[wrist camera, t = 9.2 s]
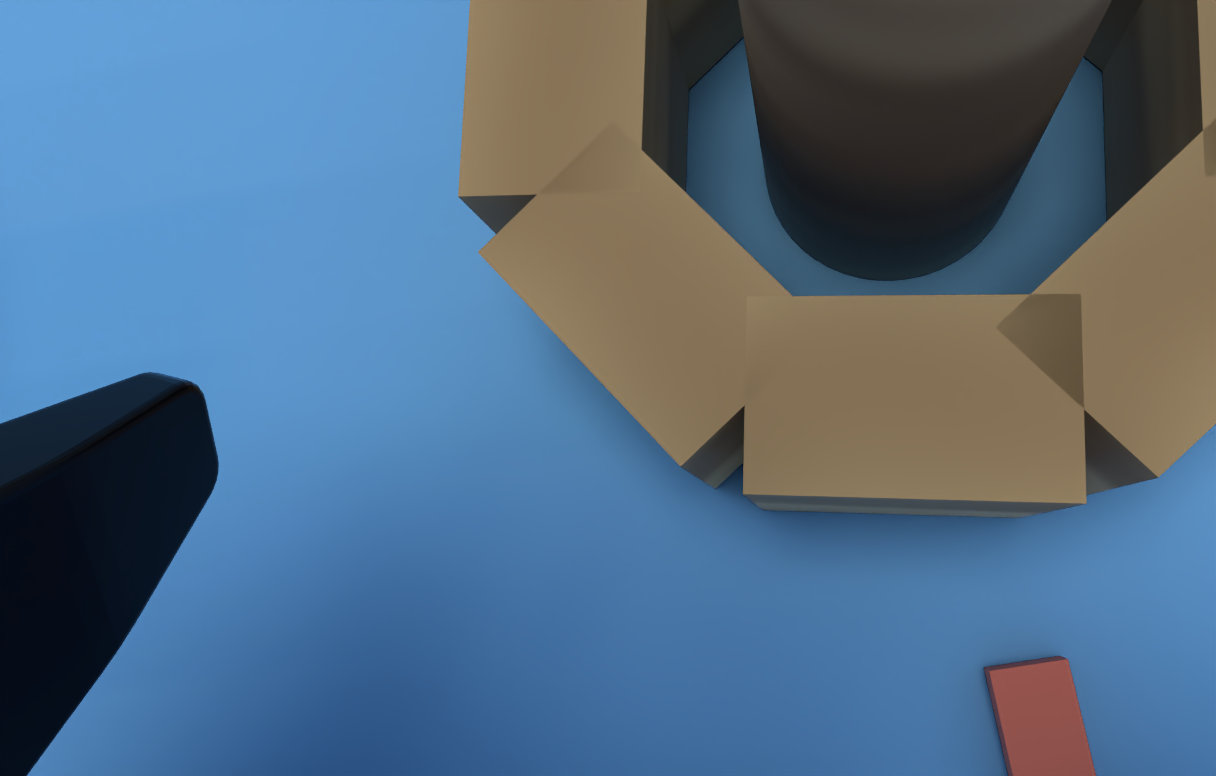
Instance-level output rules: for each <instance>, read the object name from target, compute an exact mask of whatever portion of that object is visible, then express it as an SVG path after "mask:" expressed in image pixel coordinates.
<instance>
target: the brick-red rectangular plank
mask: <svg viewBox="0 0 1216 776" xmlns="http://www.w3.org/2000/svg"><path fill="white" fill-rule="evenodd" d="M984 670H985V674H986V679H987V683H988V688H989V692H990V697H991V701H992V705H993V710H994V714H995V719H996V723H997V727H998V732H999V736H1000V741H1001V745H1002V750H1003V754H1004V758H1005V763H1006V767H1007V772H1008V776H1096V773H1095V769H1094V765H1093V761H1092V757H1091V753H1090V749H1089V744H1088V740H1087V736H1086V732H1085V728H1084V724H1083V719H1082V715H1081V711H1080V707H1079V703H1078V699H1077V695H1076V690H1075V686H1074V682H1073V678H1072V674H1071V670H1070V666H1069V661H1068V659H1067V658H1064V657H1062V656H1055V657H1049V658H1042V659H1036V660H1029V661H1023V662H1016V663H1009V664H1003V665H996V666H990V667H984Z"/></svg>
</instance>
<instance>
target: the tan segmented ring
mask: <svg viewBox="0 0 1216 776" xmlns="http://www.w3.org/2000/svg"><path fill="white" fill-rule="evenodd" d="M743 37H744V35H743V29H742V22H741V16H740V9H739V3H738V0H470V11H469V28H468V44H467V61H466V77H465V94H464V110H463V127H462V144H461V160H460V177H459V193H458V197H459V198H460V199H461V200H462V201H463V202H464V203H465V204H466V205H467V206H468V207H469V208H470V209H471V210H472V211H473V212H474V213H475V214H476V215H477V216H478V217H479V218H480V219H481V220H483V221H484V222H485V223H486V224H487V225H488V226H489V227H490V228H491V229H492V230H493V231H494V232H495V233H496V235H495V236H494V237H493V238H492V239H491V240H490V241H489V242H488V243H487V244H486V245H485V246H484V247H483V248H482V249H481V250H480V251H479V252H478V253H479V254H480V255H481V256H482V257H483V258H484V259H485V260H486V261H487V262H488V263H489V264H490V266H491V267H492V268H493V269H494V270H495V271H496V272H497V273H498V274H499V275H500V276H501V277H502V278H503V279H504V280H505V281H506V282H507V284H508V285H509V286H510V287H511V288H512V289H513V290H514V291H515V292H516V293H517V294H518V295H519V296H520V297H521V298H522V299H523V300H524V302H525V303H526V304H527V305H528V306H529V307H530V308H531V309H532V310H533V311H534V312H535V313H536V314H537V315H538V316H539V317H540V318H541V319H542V321H543V322H544V323H545V324H546V325H547V326H548V327H549V328H550V329H551V330H552V331H553V332H554V333H555V334H556V335H557V336H558V337H559V339H560V340H561V341H562V342H563V343H564V344H565V345H566V346H567V347H568V348H569V349H570V350H571V351H572V352H573V353H574V354H575V355H576V357H577V358H578V359H579V360H580V361H581V362H582V363H583V364H584V365H585V366H586V367H587V368H588V369H589V370H590V371H591V372H592V373H593V375H594V376H595V377H596V378H597V379H598V380H599V381H600V382H601V383H602V384H603V385H604V386H605V387H606V388H607V389H608V390H609V391H610V393H611V394H612V395H613V396H614V397H615V398H616V399H617V400H618V401H619V402H620V403H621V404H622V405H623V406H624V407H625V408H626V409H627V410H628V412H629V413H630V414H631V415H632V416H633V417H634V418H635V419H636V420H637V421H638V422H639V423H640V424H641V425H642V426H643V427H644V428H645V430H646V431H647V432H648V433H649V434H650V435H651V436H652V437H653V438H654V439H655V440H656V441H657V442H658V443H659V444H660V445H661V446H662V448H663V449H664V450H665V451H666V452H667V453H668V454H669V455H670V456H671V457H672V458H673V459H674V460H675V461H676V462H677V463H678V464H679V466H680V467H682V468H683V469H685V470H687V471H688V472H690V473H691V474H693V475H694V476H696V477H697V478H699V479H701V480H702V481H704V482H705V483H707V484H708V485H710V486H711V487H713V488H714V489H716V488H717V487H718V486H719V485H720V484H721V483H722V482H723V481H725V480H726V479H727V478H728V477H729V476H730V475H731V474H732V473H733V472H734V471H735V470H736V469H737V468H738V467H739V466H740V465H741V464H742V463H743V462H744V465H743V495H745V496H746V497H747V498H748V499H750V500H751V501H752V502H753V503H755V504H756V505H757V506H758V507H760V508H761V509H762V510H772V511H805V512H838V513H871V514H905V515H938V516H971V517H1004V518H1021V517H1026V516H1031V515H1035V514H1040V513H1045V512H1049V511H1054V510H1059V509H1064V508H1068V507H1073V506H1078V505H1082V504H1087V503H1086V495H1089V494H1093V493H1097V492H1101V491H1105V490H1109V489H1113V488H1117V487H1121V486H1125V485H1130V484H1134V483H1138V482H1142V481H1146V480H1150V479H1154V478H1158V477H1159V476H1160V475H1161V474H1163V473H1164V472H1165V471H1166V470H1167V469H1168V468H1169V467H1170V466H1171V465H1172V464H1173V463H1174V462H1175V461H1176V460H1177V459H1179V458H1180V457H1181V456H1182V455H1183V454H1184V453H1185V452H1186V451H1187V450H1188V449H1189V448H1190V447H1191V446H1192V445H1194V444H1195V443H1196V442H1197V441H1198V440H1199V439H1200V438H1201V437H1202V436H1203V435H1204V434H1205V433H1206V432H1207V431H1208V430H1210V429H1211V428H1212V427H1213V426H1214V425H1215V424H1216V0H1112V1H1111V3H1110V5H1109V7H1108V9H1107V11H1106V13H1105V15H1104V17H1103V19H1102V21H1101V23H1100V24H1099V26H1098V28H1097V30H1096V32H1095V34H1094V36H1093V38H1092V40H1091V42H1090V44H1089V46H1088V48H1087V50H1086V52H1085V54H1084V56H1085V57H1086V58H1087V59H1088V60H1089V61H1091V62H1092V63H1093V64H1094V65H1096V66H1097V67H1098V68H1099V69H1100V70H1102V71H1103V100H1104V133H1105V166H1106V199H1107V222H1106V223H1105V224H1104V225H1103V226H1102V227H1101V228H1100V229H1099V230H1098V231H1097V232H1095V233H1094V234H1093V235H1092V236H1091V237H1090V238H1089V239H1088V240H1087V241H1086V242H1085V243H1084V244H1083V245H1082V246H1081V247H1080V248H1079V249H1078V250H1076V251H1075V252H1074V253H1073V254H1072V255H1071V256H1070V257H1069V258H1068V259H1067V260H1066V261H1065V262H1064V263H1063V264H1062V265H1061V266H1060V267H1059V268H1058V269H1056V270H1055V271H1054V272H1053V273H1052V274H1051V275H1050V276H1049V277H1048V278H1047V279H1046V280H1045V281H1044V282H1043V283H1042V284H1041V285H1040V286H1039V287H1037V288H1036V289H1035V290H1034V291H1033V292H1032V293H1031V294H1005V295H874V296H792V295H791V294H790V293H789V292H788V291H787V290H786V289H785V288H784V287H783V286H782V285H781V284H780V283H779V282H778V281H777V280H776V279H775V278H774V277H773V276H771V275H770V274H769V273H768V272H767V271H766V270H765V269H764V268H763V267H762V266H761V265H760V264H759V263H758V262H757V261H756V260H755V259H754V258H753V257H752V256H751V255H750V254H749V253H748V252H747V251H746V250H745V249H744V248H743V247H742V246H740V245H739V244H738V243H737V242H736V241H735V240H734V239H733V238H732V237H731V236H730V235H729V234H728V233H727V232H726V231H725V230H724V229H723V228H722V227H721V226H720V225H719V224H718V223H717V222H716V221H715V220H714V219H713V218H712V217H711V216H709V215H708V214H707V213H706V212H705V211H704V210H703V209H702V208H701V207H700V206H699V205H698V204H697V203H696V202H695V201H694V200H693V199H692V198H691V197H690V196H689V195H688V194H687V193H686V167H687V132H688V97H689V89H690V88H691V87H692V86H693V85H694V84H695V83H696V82H697V81H698V80H699V79H700V78H701V77H702V76H703V75H705V74H706V73H707V72H708V71H709V70H710V69H711V68H712V67H713V66H714V65H715V64H716V63H717V62H718V61H719V60H720V59H721V58H722V57H723V56H724V55H725V54H726V53H727V52H728V51H729V50H730V49H731V48H732V47H733V46H734V45H735V44H736V43H737V42H738V41H740V40H741V39H742V38H743Z"/></svg>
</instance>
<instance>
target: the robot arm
mask: <svg viewBox="0 0 1216 776" xmlns="http://www.w3.org/2000/svg"><path fill="white" fill-rule="evenodd" d="M218 466H219V462H218V455H217V451H216V446H215V442H214V437H213V432H212V428H211V423H210V419H209V414H208V409H207V405H206V400H205V397H204V394H203V392H202V391H201V390H200V388H199V387H198V386H197V385H196V384H194V383H192V382H191V381H187V380H184V379H180V378H176V377H172V376H168V375H164V374H160V373H152V372H148V373H142V374H139V375H136V376H133V377H130V378H128V379H125V380H122V381H119V382H116V383H114V384H111V385H108V386H105V387H102V388H99V389H97V390H94V391H91V392H88V393H85V394H83V395H80V396H77V397H74V398H71V399H69V400H66V401H63V402H60V403H57V404H54V405H52V406H49V407H46V408H43V409H40V410H38V411H35V412H32V413H29V414H26V415H24V416H21V417H18V418H15V419H12V420H9V421H7V422H4V423H1V424H0V776H27V775H28V773H29V772H30V771H31V769H32V768H33V766H34V765H35V764H36V762H37V761H38V760H39V758H40V757H41V756H42V754H43V753H44V751H45V750H46V749H47V747H48V746H49V745H50V743H51V742H52V741H53V739H54V738H55V736H56V735H57V734H58V732H59V731H60V730H61V728H62V727H63V726H64V724H65V723H66V721H67V720H68V719H69V717H70V716H71V715H72V713H73V712H74V711H75V709H76V708H77V707H78V705H79V704H80V702H81V701H82V700H83V698H84V697H85V696H86V694H87V693H88V692H89V690H90V689H91V687H92V686H93V685H94V683H95V682H96V681H97V679H98V678H99V677H100V675H101V674H102V672H103V671H104V670H105V668H106V667H107V665H108V664H109V662H110V661H111V659H112V658H113V657H114V655H115V654H116V652H117V651H118V649H119V648H120V646H121V645H122V643H123V642H124V640H125V638H126V637H127V635H128V634H129V632H130V631H131V629H132V627H133V626H134V624H135V623H136V621H137V619H138V618H139V616H140V614H141V612H142V611H143V609H144V607H145V606H146V604H147V602H148V601H149V599H150V597H151V595H152V594H153V592H154V590H155V589H156V587H157V585H158V584H159V582H160V580H161V578H162V577H163V575H164V573H165V572H166V570H167V568H168V567H169V565H170V563H171V561H172V560H173V558H174V556H175V555H176V553H177V551H178V549H179V548H180V546H181V544H182V543H183V541H184V539H185V538H186V536H187V534H188V532H189V531H190V529H191V527H192V526H193V524H194V522H195V521H196V519H197V517H198V515H199V514H200V512H201V510H202V509H203V507H204V505H205V503H206V502H207V500H208V498H209V497H210V495H211V493H212V491H213V489H214V486H215V483H216V481H217V476H218Z"/></svg>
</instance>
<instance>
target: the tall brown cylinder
mask: <svg viewBox="0 0 1216 776" xmlns="http://www.w3.org/2000/svg"><path fill="white" fill-rule="evenodd" d="M1111 1H1112V0H738V3H739V9H740V16H741V22H742V29H743V35H744V42H745V48H746V54H747V61H748V67H749V74H750V80H751V87H752V93H753V100H754V106H755V113H756V119H757V126H758V132H759V139H760V145H761V152H762V158H763V165H764V171H765V178H766V184H767V189H768V193H769V197H770V201H771V203H772V206H773V209H774V211H775V214H776V215H777V217H778V219H779V221H780V223H781V224H782V226H783V228H784V229H785V230H786V232H787V233H788V234H789V236H790V237H791V238H792V239H793V240H794V241H795V242H796V243H797V244H798V245H799V246H800V247H801V248H802V249H803V250H804V251H805V252H806V253H808V254H809V255H810V256H812V257H813V258H814V259H816V260H817V261H819V262H821V263H822V264H824V265H826V266H828V267H830V268H832V269H834V270H837V271H839V272H842V273H844V274H848V275H851V276H855V277H859V278H865V279H872V280H900V279H909V278H914V277H918V276H922V275H926V274H929V273H932V272H934V271H937V270H940V269H942V268H944V267H946V266H948V265H950V264H952V263H954V262H956V261H957V260H959V259H960V258H962V257H963V256H964V255H966V254H967V253H969V252H970V251H971V250H972V249H973V248H975V247H976V246H977V245H978V244H979V243H980V242H981V241H982V240H983V239H984V238H985V237H986V236H987V234H988V233H989V232H990V231H991V230H992V229H993V227H994V226H995V224H996V223H997V221H998V219H999V218H1000V216H1001V215H1002V213H1003V211H1004V209H1005V207H1006V205H1007V203H1008V201H1009V199H1010V197H1011V195H1012V194H1013V192H1014V190H1015V188H1016V186H1017V184H1018V182H1019V180H1020V178H1021V176H1022V174H1023V172H1024V170H1025V168H1026V166H1027V164H1028V162H1029V160H1030V159H1031V157H1032V155H1033V153H1034V151H1035V149H1036V147H1037V145H1038V143H1039V141H1040V139H1041V137H1042V135H1043V133H1044V131H1045V129H1046V127H1047V126H1048V124H1049V122H1050V120H1051V118H1052V116H1053V114H1054V112H1055V110H1056V108H1057V106H1058V104H1059V102H1060V100H1061V98H1062V96H1063V94H1064V92H1065V91H1066V89H1067V87H1068V85H1069V83H1070V81H1071V79H1072V77H1073V75H1074V73H1075V71H1076V69H1077V67H1078V65H1079V63H1080V61H1081V59H1082V57H1083V56H1084V54H1085V52H1086V50H1087V48H1088V46H1089V44H1090V42H1091V40H1092V38H1093V36H1094V34H1095V32H1096V30H1097V28H1098V26H1099V24H1100V23H1101V21H1102V19H1103V17H1104V15H1105V13H1106V11H1107V9H1108V7H1109V5H1110V3H1111Z"/></svg>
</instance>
